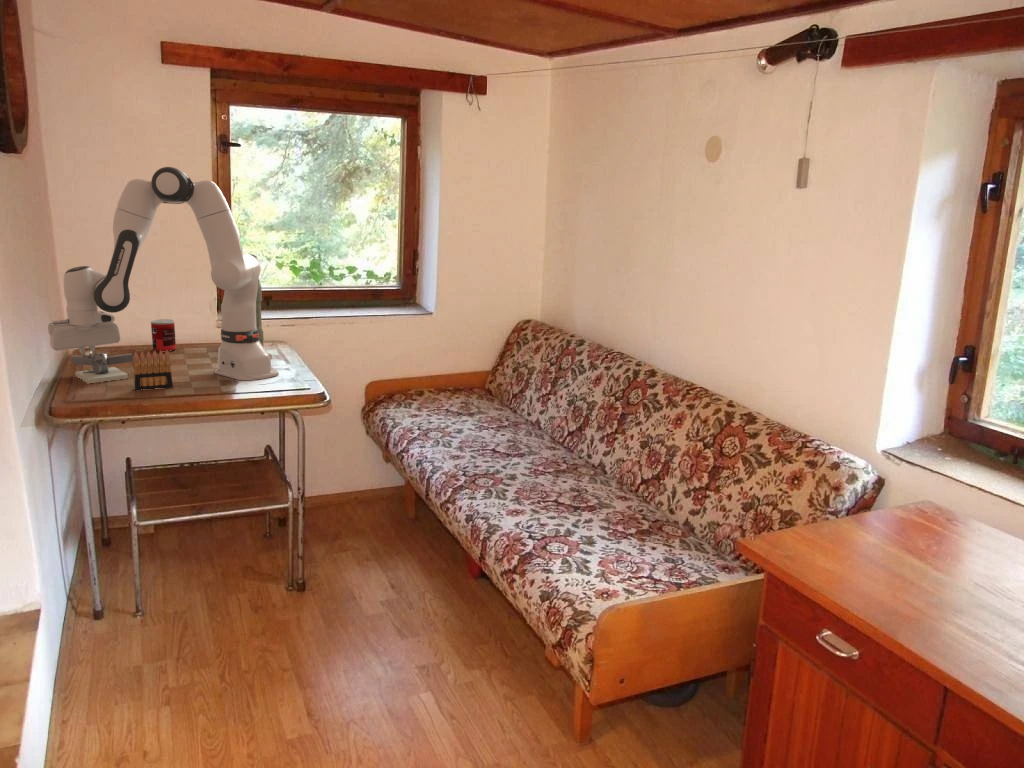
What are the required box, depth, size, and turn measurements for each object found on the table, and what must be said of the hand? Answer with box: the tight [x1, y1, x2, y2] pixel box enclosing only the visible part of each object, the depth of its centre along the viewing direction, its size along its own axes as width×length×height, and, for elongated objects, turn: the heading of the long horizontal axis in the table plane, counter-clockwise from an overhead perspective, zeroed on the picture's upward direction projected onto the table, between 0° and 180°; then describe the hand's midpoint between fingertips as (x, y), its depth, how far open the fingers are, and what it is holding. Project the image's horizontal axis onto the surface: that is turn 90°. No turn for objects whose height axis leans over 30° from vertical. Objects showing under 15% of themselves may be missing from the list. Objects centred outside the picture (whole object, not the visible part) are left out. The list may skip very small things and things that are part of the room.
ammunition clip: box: [133, 350, 174, 391], centre depth 249 cm, size 11×2×12 cm, turn 118°
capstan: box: [70, 349, 134, 374], centre depth 260 cm, size 16×18×7 cm
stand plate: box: [75, 366, 129, 384], centre depth 260 cm, size 12×12×2 cm
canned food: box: [150, 318, 177, 352], centre depth 300 cm, size 8×8×11 cm
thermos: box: [249, 254, 265, 347], centre depth 309 cm, size 9×12×35 cm
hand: (88, 359), depth 263 cm, fingers closed
